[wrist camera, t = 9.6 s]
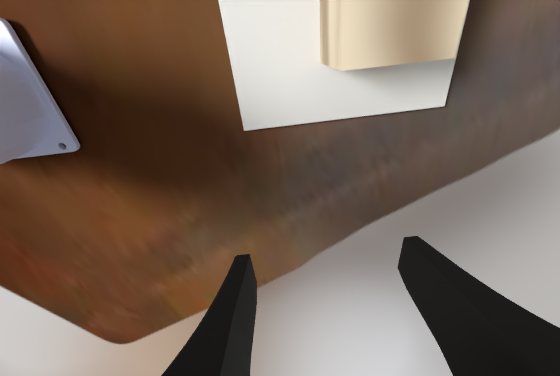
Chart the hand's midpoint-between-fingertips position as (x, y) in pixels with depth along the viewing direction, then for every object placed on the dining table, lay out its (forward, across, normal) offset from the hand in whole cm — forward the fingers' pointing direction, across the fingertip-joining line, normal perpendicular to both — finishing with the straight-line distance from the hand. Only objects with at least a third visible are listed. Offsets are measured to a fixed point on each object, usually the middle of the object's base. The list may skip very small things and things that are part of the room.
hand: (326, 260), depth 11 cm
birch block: (+9, -4, -10) cm, 14 cm away
